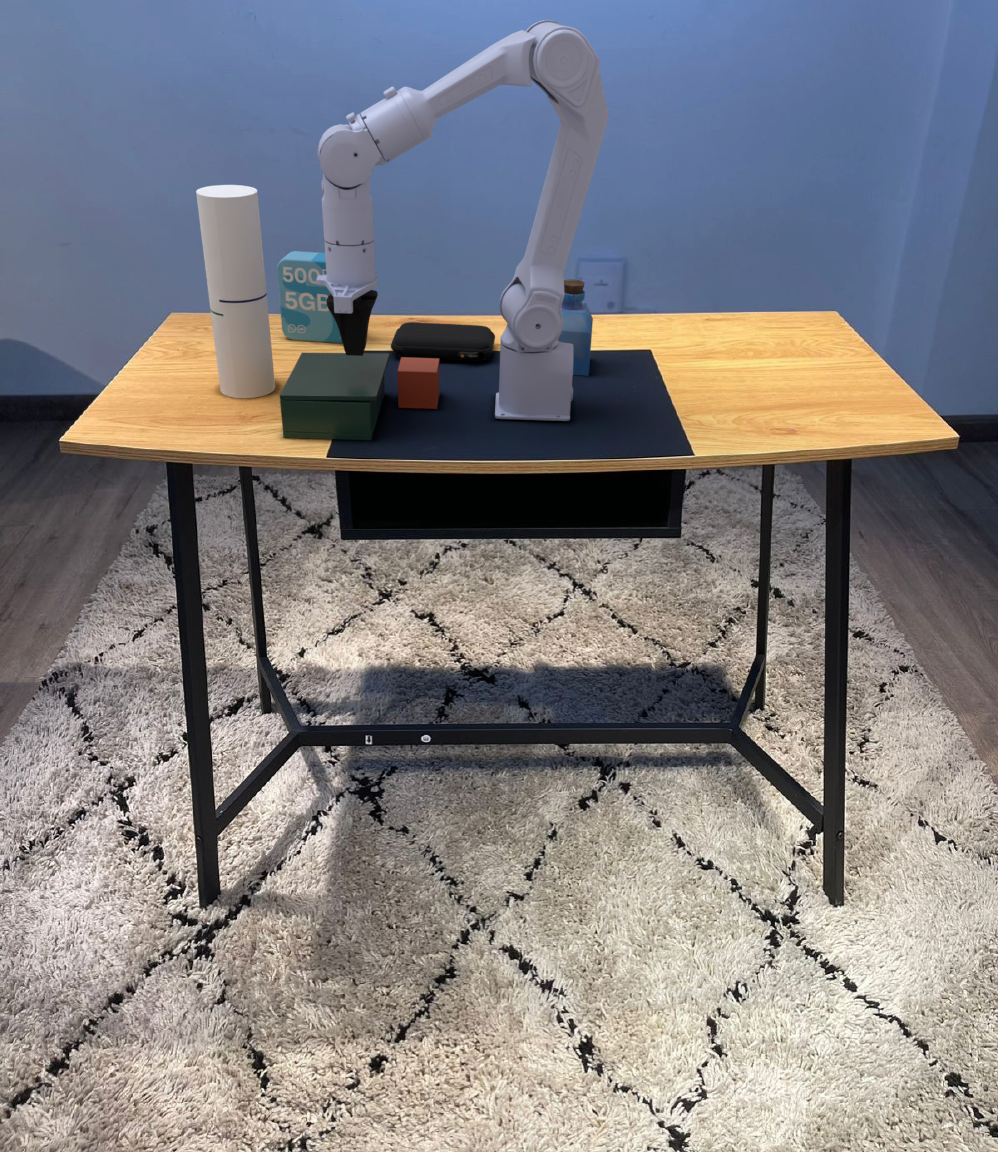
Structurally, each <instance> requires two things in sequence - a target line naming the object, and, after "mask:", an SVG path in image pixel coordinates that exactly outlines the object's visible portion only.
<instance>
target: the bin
mask: <svg viewBox="0 0 998 1152" xmlns="http://www.w3.org/2000/svg"><path fill="white" fill-rule="evenodd" d="M385 386H386V385H385V377H384V378H383V381H382V384H381V388H380V391H379V394H378V397H377V400H376V401H352V400H280V399H279V405H280V413H281V414H280V415H281V426H282V437H283V438H284V439H285V438H287V439H314V440H315V439H316V440H342V441H343V440H345V441H346V440H348V441H372V439H373V436H374V432H375V430H376V425H377V422H378V419H379V415H380V412H381V408H382V405H383V403H384V402H383V401H384V399H385V395H386V390H385V389H386V388H385Z"/></svg>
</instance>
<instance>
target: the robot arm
mask: <svg viewBox="0 0 998 1152" xmlns="http://www.w3.org/2000/svg"><path fill="white" fill-rule="evenodd" d="M600 66H601V60H600V57H599V55H598V54H597V53H596V51H595V50H594V48H593V46H592V45H591V43H590V42H589V40H588V38H587V37H586V36H585V35H584V33H582V32H581V31H580V30H579V29H577V28H575V27H573V26H569V25H562V24H561V23H559V22H557V21H556V20H551V19H543V20H539V21H536V22H535V23H533V24H531V25H529V27H528V28H527V29H526V30H523V29H520V30H519V31H516V32H513V33H511V34H509V35H507V36H506V37H504V38H501V39H500V40H498V41H497V42H495V43H493V44H492V45H489V47H486V48H485V49H484V50H482V51H481V52H479V53H477V54H476V55H475V56H473V57H472V58H470V59H468V60H467V61H465V62H464V63H462V64H461V65H460V66H458V67H457V68H455V69H453V70H452V71H450V72H449V73H447V74H446V75H444V76H442V77H441V78H440V79H438V80H436V81H435V82H434V83H432V84H430V85H429V86H427V87H426V88H425V89H423V90H418V89H415V88H412V87H410V86H402V87H401V88H400V89H398V90H396V88H395V87H394V86H391V87H389V88H387V89H386V90H384V91H383V96H384V97H385V98H383V99H381V100H380V101H378V102H376V103H375V104H373V105H371V106H370V107H368V108H366V109H364V110H363V111H361V112H360V113H358V114H356V113H355V112H354V111H352V112H350V113H349V114H347V115H346V116H345V119H346V120H347V123H348V124H347V123H346V124H342V123H340V124H336V125H333V126H331V127H329V128H327V129H326V130H325V131H324V132H323V134H322V135H321V138H320V139H319V142H318V146H317V148H318V149H317V150H316V154H317V155H316V156H317V159H318V163H319V166H320V169H321V171H322V179H321V191H322V197H321V210H322V211H321V214H322V227H323V228H322V229H323V240H324V242H323V243H324V253H325V259H326V274H327V275H319V276H318V277H317V285H324V286H326V287H327V288H328V290H329V291H330V293H331V294H330V296H328V298H327V300H326V303H327V307H328V309H329V310H330V312H331V314H332V315H333V317H334V319H335V321H336V323H337V326H338V329H339V332H340V336H341V340H342V343H341V344H342V347H343V350H344V353H346V355H352V356H363V354H364V353H365V350H366V346H367V340H368V331H369V325H370V319H371V314H372V311H373V308H374V306H375V304H376V300H377V299H378V294H379V293H378V291H377V290H375V288H377V287H378V285H379V282H378V281H379V280H378V279H379V278H378V276H377V273H376V251H375V250H376V247H375V227H374V226H375V225H374V200H373V197H372V196H371V180H370V179H371V176H372V174H373V172H374V169H375V166H384V165H386V164H387V163H389V162H392V161H393V160H395V159H397V158H398V157H399V156H401V155H403V154H405V153H407V152H408V151H410V150H411V149H413V148H415V147H417V146H418V145H419V144H421V143H423V142H425V141H427V140H428V139H430V138H431V137H432V135H433V132H434V128H435V124H436V122H437V120H438V119H440V118H441V117H443V116H446V115H447V114H449V113H451V112H453V111H455V110H457V109H458V108H460V107H462V106H464V105H466V104H468V103H470V102H471V101H474V100H475V99H477V98H479V97H480V96H483V95H484V94H487V93H488V92H490V91H491V90H494V89H496V88H497V87H499V86H516V87H527V88H528V87H532V86H533V84H532V82H533V83H534V84H535V85H536V86H537V87H539V88H540V90H542V91H543V92H544V94H545V95H546V96H547V99H548V101H549V102H550V104H551V106H552V108H553V109H554V112H555V113H556V115H557V117H558V119H559V121H560V123H559V128H558V131H557V135H556V138H555V142H554V145H553V149H552V153H551V157H550V160H549V164H548V168H547V171H546V176H545V179H544V183H543V187H542V191H541V194H540V198H539V202H538V204H537V208H536V211H535V216H534V220H533V223H532V227H531V230H530V233H529V238H528V242H527V244H526V248H525V252H524V256H523V258H522V259H521V261H520V262H519V263H518V264H517V266H516V267H515V271H514V275H513V278H512V279H511V281H510V282H509V283H508V285H507V286H506V287H505V288H504V289H503V291H502V293H501V295H500V298H499V304H498V305H499V312H500V316H501V317H502V318H503V320H504V321H505V323H506V326H505V329H504V331H503V332H502V334H501V335H500V341H499V342H500V344H499V345H500V346H499V374H498V375H499V377H498V378H499V379H498V381H499V382H498V392H496V393H495V403H494V408H495V409H494V418H495V419H497V420H519V421H520V420H521V421H549V422H550V421H551V422H552V421H553V422H569V421H570V420H571V404H572V401H573V398H574V387H573V376H574V375H573V344H570V343H563V342H559V341H558V338H559V336H560V334H561V332H562V328H563V318H562V313H561V306H562V302H563V298H564V280H565V269H566V266H567V263H568V260H569V259H568V258H569V255H570V252H571V248H572V245H573V242H574V238H575V235H576V231H577V228H578V225H579V221H580V218H581V214H582V211H583V207H584V206H585V205H584V204H585V201H586V197H587V194H588V190H589V186H590V184H591V181H592V177H593V175H594V174H593V173H594V171H595V167H596V163H597V161H598V160H597V159H598V156H599V153H600V149H601V146H602V143H603V140H604V137H605V133H606V130H607V127H608V122H609V108H608V105H607V100H606V95H605V91H604V86H603V81H602V77H601V72H600V69H601V67H600Z"/></svg>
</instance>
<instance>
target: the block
mask: <svg viewBox="0 0 998 1152" xmlns="http://www.w3.org/2000/svg"><path fill="white" fill-rule="evenodd" d="M396 373H397V376H396V377H397V407H398V408H399V409H423V410H424V409H425V410H426V409H427V410H428V409H429V410H438V405H439V399H440V394H441V393H440V392H441V391H440V388H441V387H440V385H441V384H440V380H441V379H440V359H438V358H408V357H400V360H399V363H398V368H397V371H396Z"/></svg>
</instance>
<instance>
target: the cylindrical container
mask: <svg viewBox="0 0 998 1152" xmlns="http://www.w3.org/2000/svg"><path fill="white" fill-rule="evenodd" d="M195 192H196V194H195V195H196V202H197V211H198V218H199V219H198V220H199V228H200V235H201V244H202V253H203V260H204V269H205V277H206V285H207V293H208V302H209V309H210V311H209V312H210V318H211V326H212V334H213V335H212V336H213V343H214V351H215V358H216V359H215V360H216V367H217V375H218V383H219V391H220V393H221V394H223V396H226V397H229V398H233V399H254V398H260V397H264V396H267V395H269V394H271V393H273V392H274V391H275V390H276V380H275V370H274V359H273V348H272V347H273V346H272V336H271V325H270V316H269V315H270V313H269V303H268V294H267V282H266V272H265V271H266V270H265V261H264V259H265V258H264V249H263V238H262V227H261V217H260V215H261V214H260V207H259V206H260V204H259V195H258V189H257V188H255V187H253V186H248V185H240V184H217V185H216V184H215V185H209V186H204V187H200V188H197V190H196V191H195Z"/></svg>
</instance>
